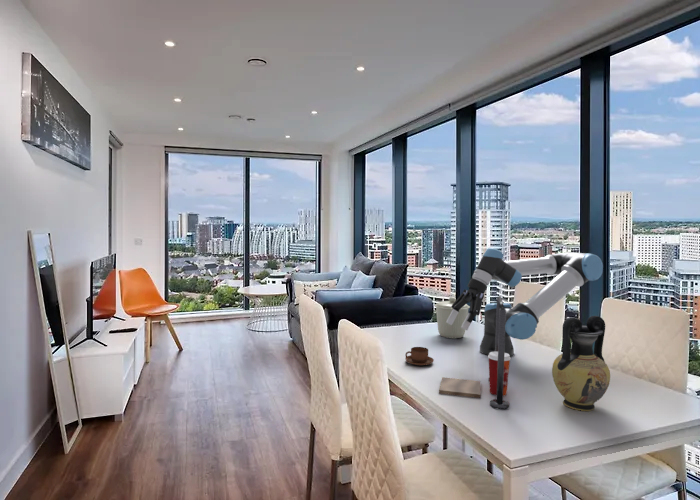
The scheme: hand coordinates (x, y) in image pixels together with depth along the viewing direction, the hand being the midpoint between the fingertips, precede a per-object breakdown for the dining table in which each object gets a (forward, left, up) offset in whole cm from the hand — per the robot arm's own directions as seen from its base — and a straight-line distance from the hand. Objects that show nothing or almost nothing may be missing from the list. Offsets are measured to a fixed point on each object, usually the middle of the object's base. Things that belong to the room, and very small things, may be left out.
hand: (456, 326), depth 189 cm
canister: (-22, -47, -17) cm, 55 cm away
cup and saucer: (+13, -7, -17) cm, 23 cm away
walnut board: (+10, +24, -17) cm, 32 cm away
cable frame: (-1, +31, -17) cm, 35 cm away
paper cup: (-1, +31, -17) cm, 35 cm away
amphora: (-21, +47, -17) cm, 54 cm away
